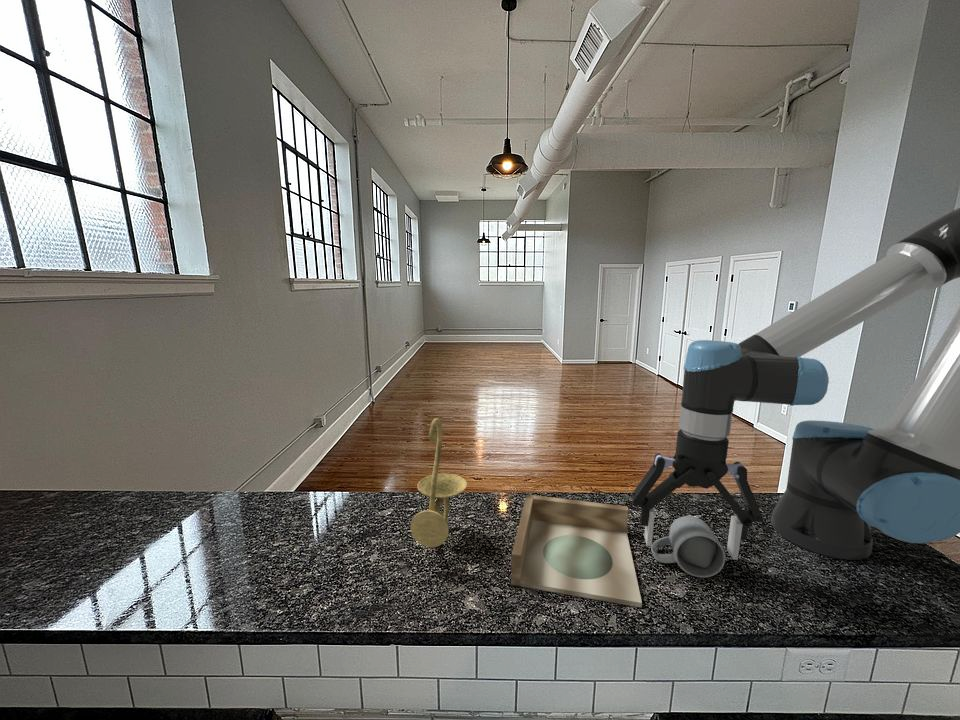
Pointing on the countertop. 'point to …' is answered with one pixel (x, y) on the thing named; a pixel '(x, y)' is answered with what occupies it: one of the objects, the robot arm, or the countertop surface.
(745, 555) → the countertop surface
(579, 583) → the tray
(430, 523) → the wall sconce
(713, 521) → the countertop surface
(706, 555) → the ceramic mug
